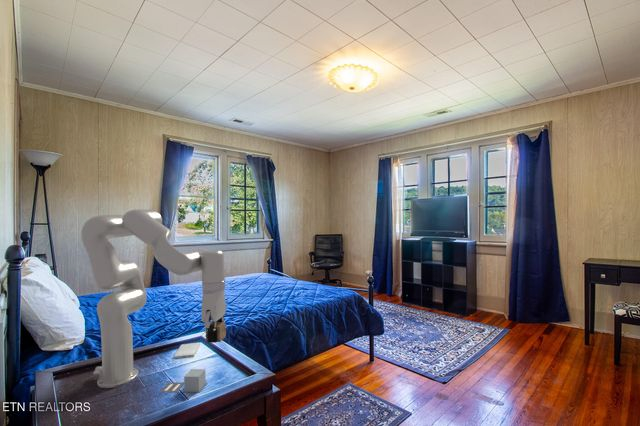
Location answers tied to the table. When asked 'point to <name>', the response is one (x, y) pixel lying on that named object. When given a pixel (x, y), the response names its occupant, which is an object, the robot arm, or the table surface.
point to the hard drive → (187, 350)
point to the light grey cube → (194, 380)
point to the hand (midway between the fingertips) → (216, 338)
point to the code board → (176, 388)
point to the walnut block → (219, 331)
